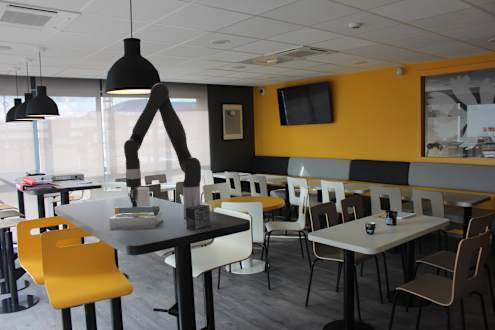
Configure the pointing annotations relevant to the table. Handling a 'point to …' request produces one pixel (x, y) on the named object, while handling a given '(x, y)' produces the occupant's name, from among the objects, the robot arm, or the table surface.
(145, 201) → the cup
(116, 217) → the chassis
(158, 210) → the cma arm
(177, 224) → the table surface
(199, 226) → the small box
